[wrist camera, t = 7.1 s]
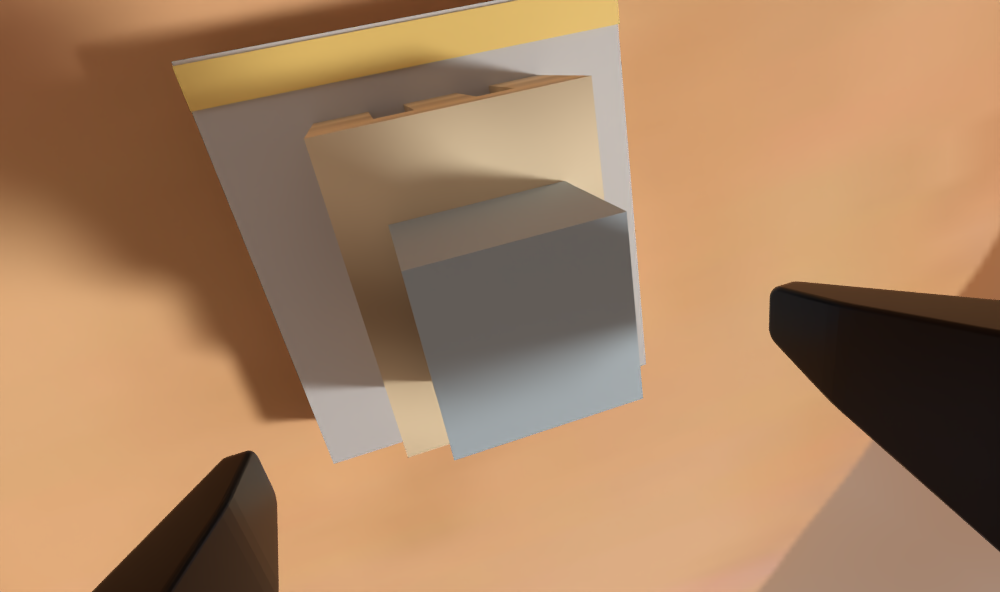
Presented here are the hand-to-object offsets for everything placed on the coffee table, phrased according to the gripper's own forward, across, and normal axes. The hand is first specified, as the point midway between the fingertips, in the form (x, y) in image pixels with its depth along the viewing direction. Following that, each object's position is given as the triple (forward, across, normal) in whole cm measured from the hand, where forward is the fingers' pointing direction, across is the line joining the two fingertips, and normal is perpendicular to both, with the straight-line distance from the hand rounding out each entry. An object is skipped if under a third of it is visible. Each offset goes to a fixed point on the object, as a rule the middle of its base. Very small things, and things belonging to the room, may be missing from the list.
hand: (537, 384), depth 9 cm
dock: (+10, 0, 0) cm, 10 cm away
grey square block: (+4, 0, 0) cm, 4 cm away
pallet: (+8, 0, 0) cm, 8 cm away
